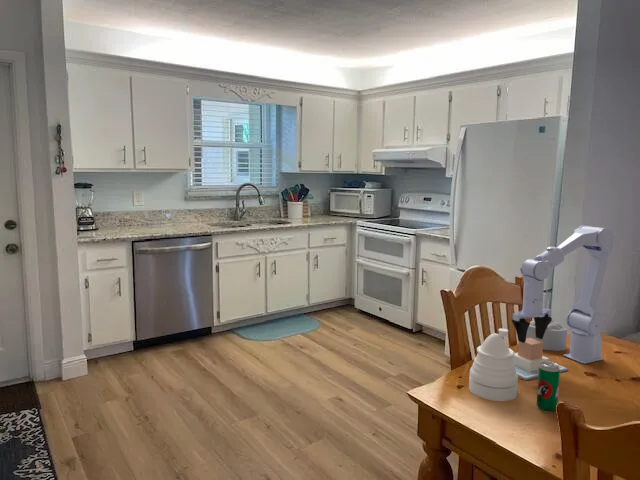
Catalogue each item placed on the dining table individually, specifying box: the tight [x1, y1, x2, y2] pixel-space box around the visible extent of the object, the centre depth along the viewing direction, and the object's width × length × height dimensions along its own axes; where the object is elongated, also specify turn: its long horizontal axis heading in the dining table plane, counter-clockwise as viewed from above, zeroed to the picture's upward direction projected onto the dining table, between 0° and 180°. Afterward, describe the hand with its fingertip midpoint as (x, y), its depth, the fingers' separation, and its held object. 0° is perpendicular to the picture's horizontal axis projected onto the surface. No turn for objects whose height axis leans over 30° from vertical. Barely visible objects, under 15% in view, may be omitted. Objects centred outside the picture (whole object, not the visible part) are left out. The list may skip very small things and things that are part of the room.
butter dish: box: [512, 351, 569, 381], centre depth 155 cm, size 18×14×4 cm
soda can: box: [535, 361, 561, 413], centre depth 127 cm, size 5×5×12 cm
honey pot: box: [468, 328, 519, 402], centre depth 137 cm, size 13×13×18 cm
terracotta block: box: [517, 338, 544, 360], centre depth 154 cm, size 5×5×5 cm
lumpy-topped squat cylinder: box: [526, 319, 568, 352], centre depth 175 cm, size 10×13×9 cm
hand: (530, 339), depth 154 cm, fingers open, 7 cm apart
